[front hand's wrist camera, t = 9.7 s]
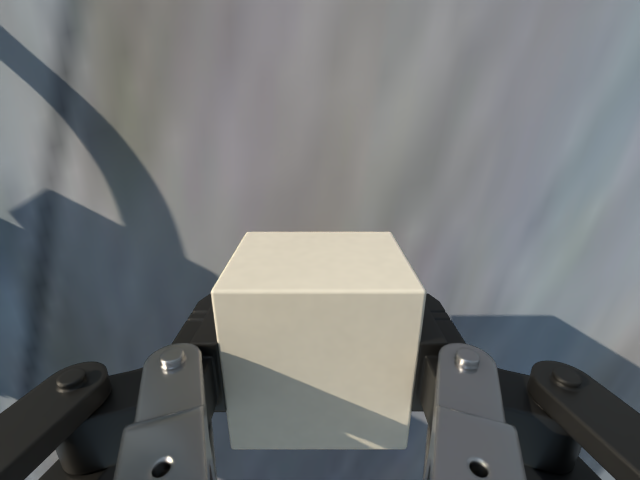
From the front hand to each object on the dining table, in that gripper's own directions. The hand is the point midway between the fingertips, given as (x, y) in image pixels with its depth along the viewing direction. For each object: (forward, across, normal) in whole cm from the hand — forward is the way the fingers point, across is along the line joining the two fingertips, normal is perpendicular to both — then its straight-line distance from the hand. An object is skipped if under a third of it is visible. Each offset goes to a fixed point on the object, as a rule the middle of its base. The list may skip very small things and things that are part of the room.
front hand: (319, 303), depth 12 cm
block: (+1, 0, 0) cm, 1 cm away
